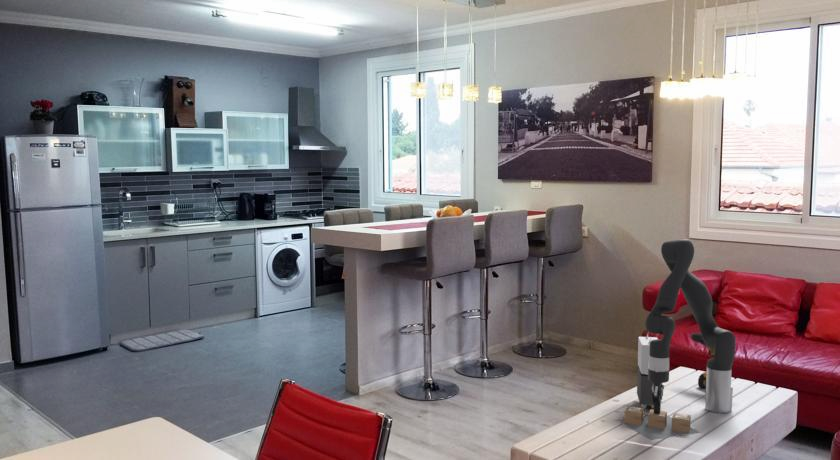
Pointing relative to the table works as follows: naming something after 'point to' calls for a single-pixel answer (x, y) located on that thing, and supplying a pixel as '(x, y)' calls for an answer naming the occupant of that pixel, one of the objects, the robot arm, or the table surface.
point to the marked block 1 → (634, 416)
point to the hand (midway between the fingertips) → (657, 412)
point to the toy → (644, 372)
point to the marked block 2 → (681, 422)
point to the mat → (654, 432)
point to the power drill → (697, 338)
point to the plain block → (657, 420)
